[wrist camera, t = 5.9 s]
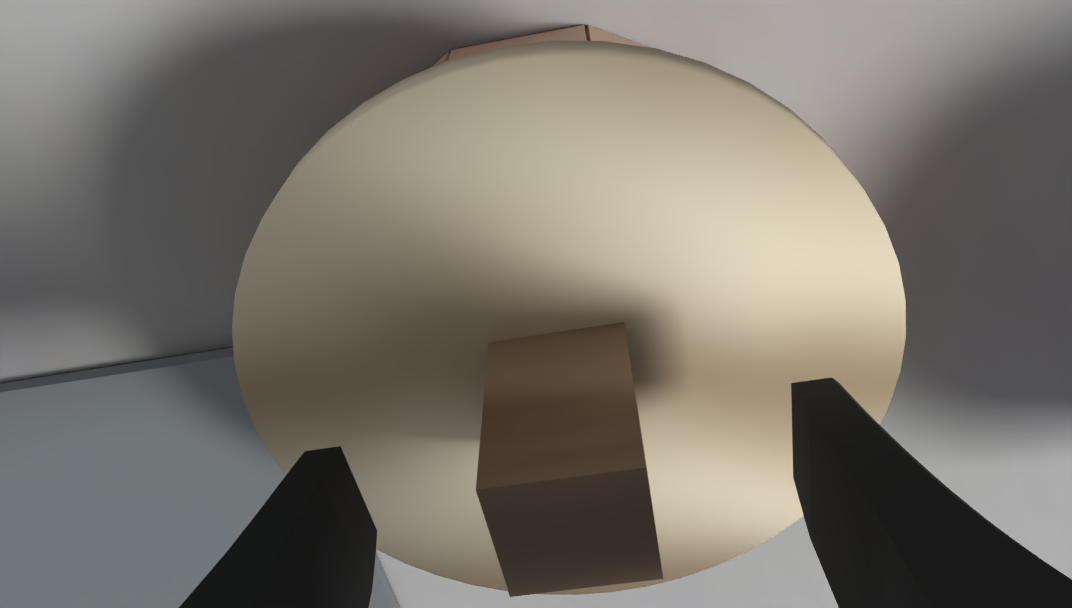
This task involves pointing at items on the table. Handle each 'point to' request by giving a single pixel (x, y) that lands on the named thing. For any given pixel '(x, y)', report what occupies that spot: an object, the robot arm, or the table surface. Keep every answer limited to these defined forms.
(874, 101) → the table surface
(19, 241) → the table surface
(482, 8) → the table surface
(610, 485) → the lid
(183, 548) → the mat
